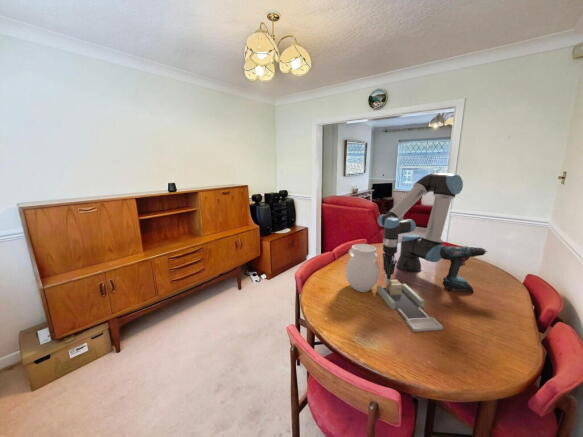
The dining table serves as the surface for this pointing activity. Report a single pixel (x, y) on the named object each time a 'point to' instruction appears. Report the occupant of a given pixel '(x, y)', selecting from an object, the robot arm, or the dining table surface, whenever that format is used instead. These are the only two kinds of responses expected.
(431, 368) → the dining table surface
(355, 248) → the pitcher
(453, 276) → the power drill
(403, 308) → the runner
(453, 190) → the robot arm
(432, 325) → the tray
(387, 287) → the block
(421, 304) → the channel
